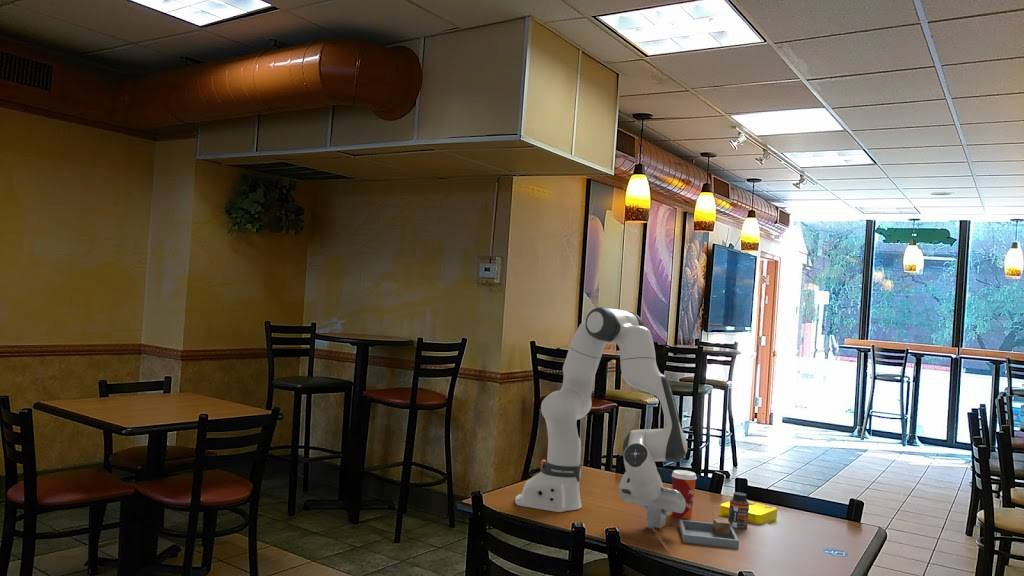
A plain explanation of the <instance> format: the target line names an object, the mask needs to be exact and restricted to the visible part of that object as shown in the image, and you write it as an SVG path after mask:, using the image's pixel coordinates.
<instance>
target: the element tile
mask: <svg viewBox="0 0 1024 576" xmlns="http://www.w3.org/2000/svg"><path fill="white" fill-rule="evenodd" d="M746 500H747V501H748V503H749V513H748V523H751V524H756V525H763V524H767V525H769V524H772V523H774V522H776V521H777V519H778V508H777V507H775V506H771V505H767V504H763V503H759V502H755V501H752V500H748V499H746ZM729 505H730V500H728V501H725V502H723V503H720V504H719V517H723V518H724V517H725V518H726V517H727V518H729Z"/></svg>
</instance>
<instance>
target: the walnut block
mask: <svg viewBox="0 0 1024 576" xmlns="http://www.w3.org/2000/svg"><path fill="white" fill-rule="evenodd" d="M712 520H713V521H712V523H713V533H714V534H715V535H716V536H726V537H730V524H731V523H729V522H728V519H726V518H725V519H723V518H713V519H712Z"/></svg>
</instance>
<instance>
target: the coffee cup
mask: <svg viewBox="0 0 1024 576" xmlns="http://www.w3.org/2000/svg"><path fill="white" fill-rule="evenodd" d="M671 479H672V480H671V481H672V482H671V483H672V485H671V487H672V488H671V489H674V490H677V491H679V492H680V493H681V494H682V496H683V497H684V499H685V501H686V507H685V510H684V512H683V513H677V512H673V511H671V513H672V516H673V517H675V518H678V519H683V520H687V519H691V518H692V512H693V506H694V497H695V490H696V480H697V479H698V477H697V473H695V472H694V471H691V470H686V469H685V470H683V469H675V470H673V471H672V474H671Z"/></svg>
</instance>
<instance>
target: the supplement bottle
mask: <svg viewBox="0 0 1024 576" xmlns="http://www.w3.org/2000/svg"><path fill="white" fill-rule="evenodd" d="M747 500H748V499H747V494H746V493H744V492H738V491H736V492H733V496H732V498H731V499H729V501H730V505H729V517H728V519H727V521H728V522H729V523H731V524H730V525H731V526H732V528H733V530H744V531H745V530H748V526H749V525H748V523H749V522H748V513H749V503H748V501H749V500H748V501H747Z"/></svg>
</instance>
